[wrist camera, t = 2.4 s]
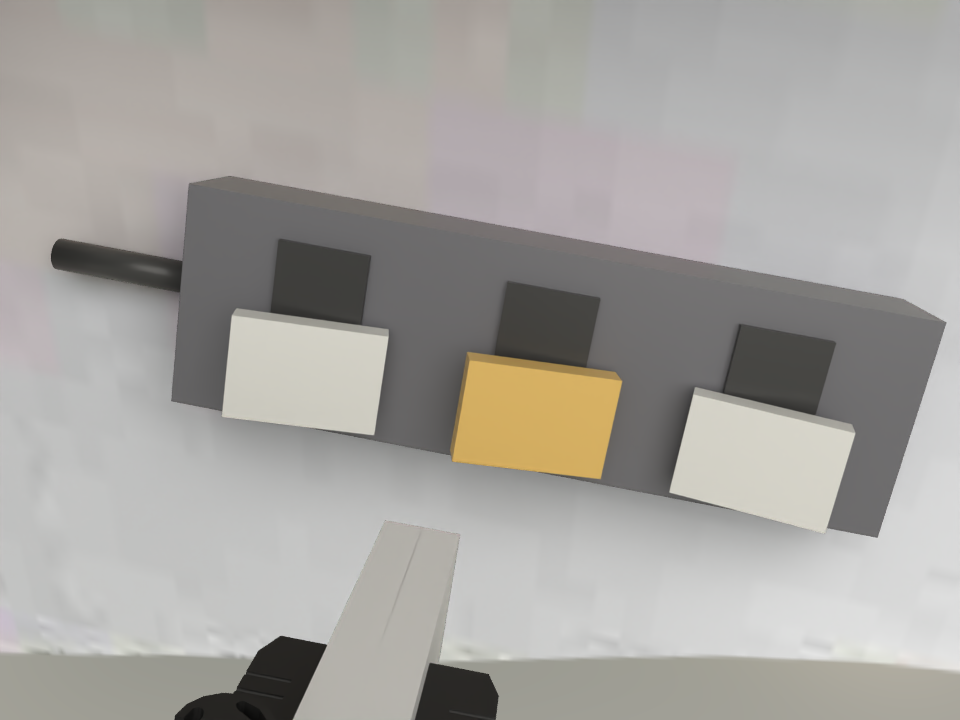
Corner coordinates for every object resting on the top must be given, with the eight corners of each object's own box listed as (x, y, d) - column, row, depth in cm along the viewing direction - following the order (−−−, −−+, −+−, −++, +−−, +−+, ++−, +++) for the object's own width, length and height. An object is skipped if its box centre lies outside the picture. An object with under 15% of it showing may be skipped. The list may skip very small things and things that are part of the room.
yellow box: (450, 450, 32) (452, 461, 31) (466, 351, 31) (469, 360, 30) (594, 467, 32) (600, 478, 31) (614, 371, 31) (622, 380, 30)
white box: (226, 407, 32) (221, 416, 31) (236, 308, 31) (231, 315, 30) (374, 424, 33) (374, 435, 32) (388, 329, 32) (388, 336, 31)
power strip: (70, 344, 37) (9, 373, 33) (80, 148, 35) (16, 153, 31) (844, 492, 36) (880, 541, 32) (902, 299, 34) (950, 324, 30)
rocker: (671, 482, 32) (669, 492, 31) (694, 387, 31) (693, 394, 30) (822, 522, 31) (825, 533, 30) (851, 424, 30) (855, 433, 29)
